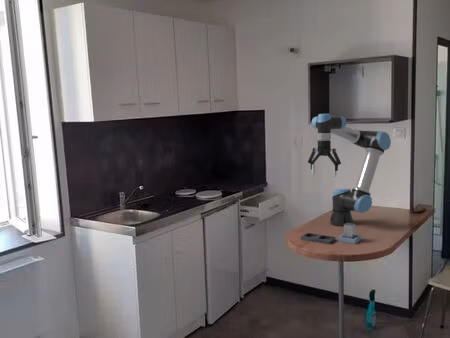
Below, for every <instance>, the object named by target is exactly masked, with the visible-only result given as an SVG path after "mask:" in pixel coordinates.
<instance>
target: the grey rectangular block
mask: <svg viewBox="0 0 450 338" xmlns="http://www.w3.org/2000/svg"><path fill="white" fill-rule="evenodd" d="M343 234H344V238H350V239H355V235H356V223H353V224H352V223H346V224H344V226H343Z"/></svg>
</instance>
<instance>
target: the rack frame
mask: <svg viewBox="0 0 450 338" xmlns="http://www.w3.org/2000/svg"><path fill="white" fill-rule="evenodd" d="M300 240H302V241H308V242H313V243H318V244H319V243H320V244H324V245H325V244H326V245H331V244H332V243H334V242H335V241H336V240H337V238H336V236H331V235H326V234H318V233H312V232H306V233H304V234H302V235H300Z"/></svg>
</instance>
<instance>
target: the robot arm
mask: <svg viewBox="0 0 450 338" xmlns="http://www.w3.org/2000/svg"><path fill="white" fill-rule="evenodd" d="M317 115H318V116H314V117H312V120H311V126H312V127H313V128H314V129H317V147H313V148H312V152H311V154H310V155H309V158H308V160H307V163H308V164H310V170H311V176H315V175H316V161H317V160H318V159H319V158H320V157H322V156H324V157H328V158H329V160H330V161H331V162H332V163H333V167H332V168H333V170H332V171H333V177H334V178H336V177H337V171H339V166H340V165H342V162H341V159H340V158H339V156H338V153H337V148H335V147H334V148H331V138H332V136H331V135H334V136H337V137H340V138H342V139H344V140H347V141H349V143H350V144H354V145H355V146H358V147H360V148H363V149H365V151H366V153H365V156H364V160H363V163H362V166H361V169H360V173H359V176H358V178H357V182H356V185H355V187H353V188H339V189H334V190H333V191H332V212H331V215H330V217H329V224H331V225H332V226H338V227H344V224H346V223H352V224H354V218H353V215H352V213H351V211H352V212H355V213H362V214H363V213H367V212H368V211H369V210H370V208H372V205H373V198H372V196H371V192H370V189H371V186H372V183H373V179H374V176H375V173H376V171H377V170H376V169H377V168H378V167H377V166H378V164H379V162H380V161H379V160H380V159H381V158H380V157H381V156H383V155H384V154H385V151H387V150H389V149H390V147H391V142H392V140H391V138H390V135H389V133H388V132H386V131H382V130H379V131H378V130H360V129H357V128H351V127H349V126H347V119H346V118H345V116H340V115H339V116H338V115H337V116H332V115H331V114H330V113H319V114H317ZM331 152H332V153H331ZM316 153H317V154H316ZM332 154H333V155H332Z"/></svg>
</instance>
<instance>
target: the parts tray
mask: <svg viewBox="0 0 450 338" xmlns="http://www.w3.org/2000/svg"><path fill="white" fill-rule="evenodd" d="M337 239H338V240H337V241H338V242H341V243H347V244H353V245H356V244H357V243H359V242H360V241H361V240H362V235H360V234H355V239H350V238H344V233H342V234H341V235H339V236H338V237H337Z"/></svg>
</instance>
